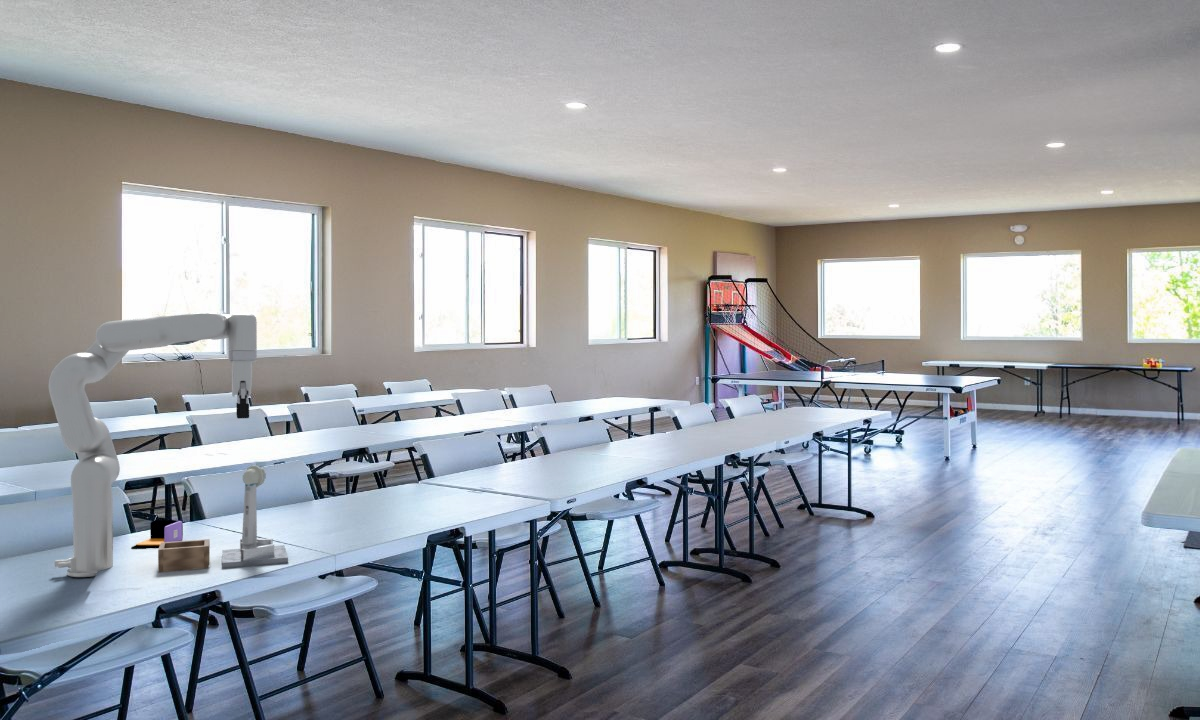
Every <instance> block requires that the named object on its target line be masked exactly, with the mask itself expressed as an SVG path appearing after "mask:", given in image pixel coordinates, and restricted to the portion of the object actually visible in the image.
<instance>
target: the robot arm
mask: <svg viewBox="0 0 1200 720" xmlns="http://www.w3.org/2000/svg"><path fill="white" fill-rule="evenodd" d="M257 323H258V321H257V317H256V316H255V315H254V314H250V313H249V314H248V313H234V314H232V313H231V314H221V313H218V312H214V311H204V312H195V313H187V314H186V313H185V314H184V313H183V314H177V315H175V314H174V315H161V316H151V317H141V318H132V319H129V318H128V319H122V320H121V319H120V320H113V321H112V320H111V321H107V322H104V323H102V324H101V325H99V326H98V328H96V331H95V341H94V342H93V343H92V344H91V345H90V346H89V347H88V348H87V349H86V350H84V352H76V353H72V354H70V355H68V356H66V357H64V358H62V359H61V360H60V361H59V362H58V363H57V364H56V365H55V367H54V368H53V369H52V371H51V373H50V376H49V378H48V379H49V380H48V392H49V396H50V400H51V404H52V406H53V410H54V413H55V418H56V420H57V423H58V428H59V431H60V434H61V438H62V441H63V444H64V446H65V447H66V448H67V450H69V451H71V452H72V453H76V456H77V458H78V462H77V463H76V464H75V465H74V467H73V468H72V471H71V475H70V487H71V495H72V496H71V498H72V519H73V520H72V527H73V529H72V535H73V536H72V538H73V539H72V545H73V547H72V549H73V551H72V552H73V553H72V557H68V558H67V559H55V560H54V568H60V569H61V568H68V569H66V575H67V576H68V577H73V578H88V577H89V578H90V577H96V576H97V574H98V572H99V571H104V570H107V569H110V568H113V567H114V524H113V523H114V501H113V491H112V490H113V489H112V484H113V483H114V482H115V481H116V480H117V479H118V477H119V475H120V472H121V471H120V469H121V467H120V462H119V459H118V455H117V452H116V449H115V446H114V443H113V440H112V435H111V433H110V431H109V428H108V426H107V425H106V423H105V422H104V421H103V420H101V419H100V418H97V417H95V416H94V413H93V410H92V406H91V402H90V400H89V398H88V395H87V392H86V390H85V387H86V385H87V384H94V383H97V382H99V381H101V380H102V379H104V378H105V377H106V376H107V375H108V374H109V373H110V372H111V371H112V370H113V369H114V368H115V366H116V365H117V364H119V363H120V361H121V360H122V359H123V358H124V357H125V356H126V355H127V354H128V352H129V351H135V350H137V351H138V350H145V349H153V348H163V347H167V346H171V345H173V344H178V343H184V342H193V341H203V340H213V341H214V340H215V341H216V340H217V341H218V340H224V339H225V340H226V339H227V340H228V341H227V342H228V349H227V350H228V353H227V354H228V355H227V357H228V359H227V360H228V363H232V365H231V366H232V367H231V397H233V398H236V396H237V398H236V399H237V401H236V418H237V419H250V403H249V397H250V396H251V395H252V386H253V385H252V384H253V363H257V362H258V360H257V359H258V358H257V356H258V355H257V354H258V353H257V352H258V350H257V349H258V346H257V344H258V343H257V342H258V341H257V337H258V336H257V333H258V330H257V327H258V326H257V325H258V324H257Z"/></svg>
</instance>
